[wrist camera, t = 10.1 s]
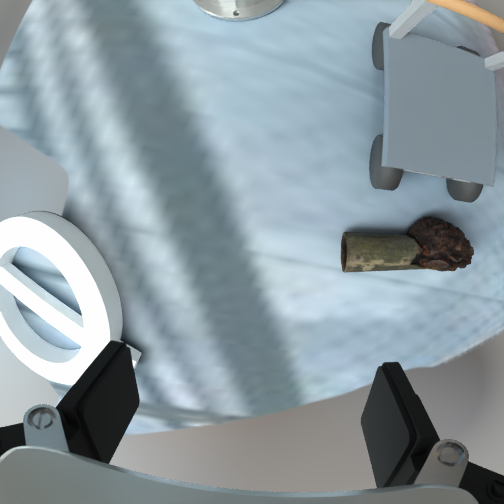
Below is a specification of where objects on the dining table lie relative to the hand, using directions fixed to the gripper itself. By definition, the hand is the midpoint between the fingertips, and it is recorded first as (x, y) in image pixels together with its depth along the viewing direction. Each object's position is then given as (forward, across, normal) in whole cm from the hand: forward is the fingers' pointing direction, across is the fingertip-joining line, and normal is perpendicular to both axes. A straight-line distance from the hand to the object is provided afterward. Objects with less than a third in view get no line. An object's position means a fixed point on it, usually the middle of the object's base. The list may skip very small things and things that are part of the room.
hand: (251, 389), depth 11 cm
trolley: (+28, -18, -16) cm, 37 cm away
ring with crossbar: (+29, +34, +13) cm, 46 cm away
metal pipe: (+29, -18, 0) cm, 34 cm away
